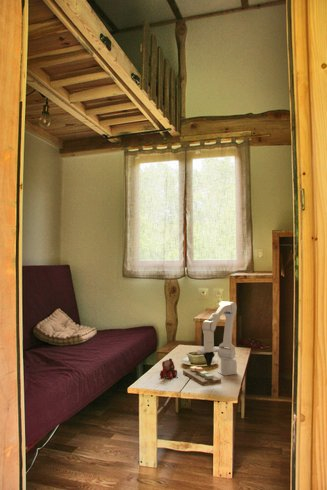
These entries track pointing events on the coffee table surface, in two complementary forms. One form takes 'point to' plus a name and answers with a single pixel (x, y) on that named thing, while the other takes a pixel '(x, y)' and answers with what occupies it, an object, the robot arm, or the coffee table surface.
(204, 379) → the brown wooden board
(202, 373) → the pale green cube
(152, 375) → the coffee table surface
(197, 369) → the terracotta key
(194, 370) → the cream key
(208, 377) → the pale grey cube
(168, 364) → the dark red teddy bear
